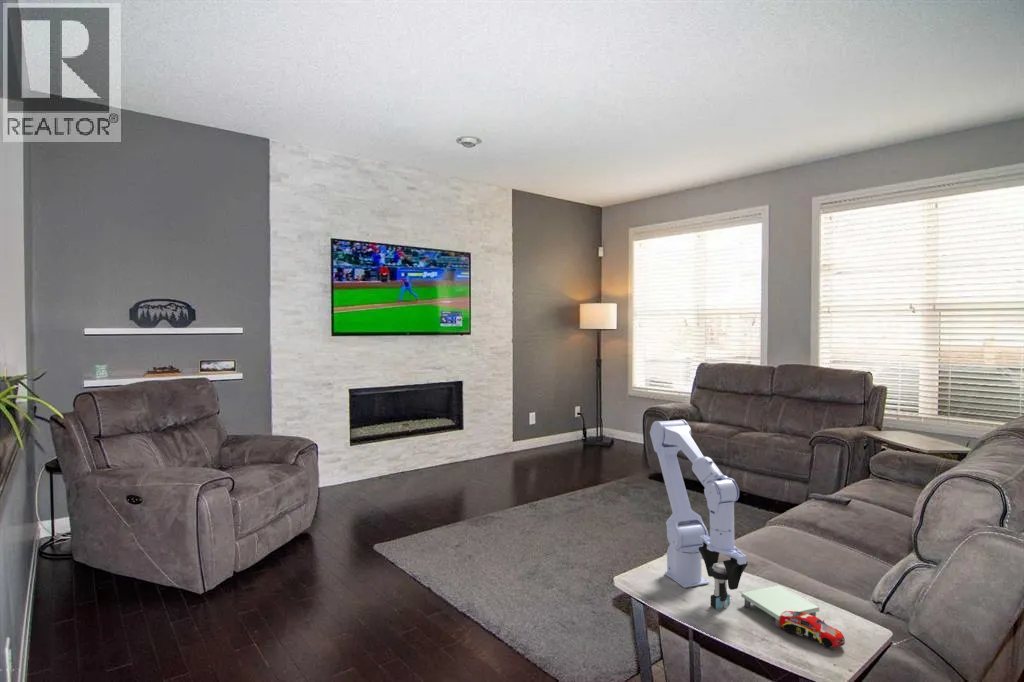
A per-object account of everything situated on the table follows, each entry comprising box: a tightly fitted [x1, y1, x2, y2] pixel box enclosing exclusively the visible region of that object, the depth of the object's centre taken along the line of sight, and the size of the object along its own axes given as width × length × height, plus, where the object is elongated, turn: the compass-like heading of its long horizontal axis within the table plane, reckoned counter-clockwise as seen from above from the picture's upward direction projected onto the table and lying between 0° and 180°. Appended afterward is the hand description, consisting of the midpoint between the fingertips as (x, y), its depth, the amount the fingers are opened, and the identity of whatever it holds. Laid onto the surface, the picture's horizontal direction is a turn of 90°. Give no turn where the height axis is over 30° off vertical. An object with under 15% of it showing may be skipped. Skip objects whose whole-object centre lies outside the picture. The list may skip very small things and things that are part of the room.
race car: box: [779, 611, 846, 649], centre depth 121 cm, size 13×5×4 cm, turn 37°
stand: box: [740, 584, 820, 629], centre depth 132 cm, size 12×12×3 cm
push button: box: [709, 562, 732, 610], centre depth 135 cm, size 7×5×10 cm
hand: (722, 582), depth 135 cm, fingers open, 7 cm apart
